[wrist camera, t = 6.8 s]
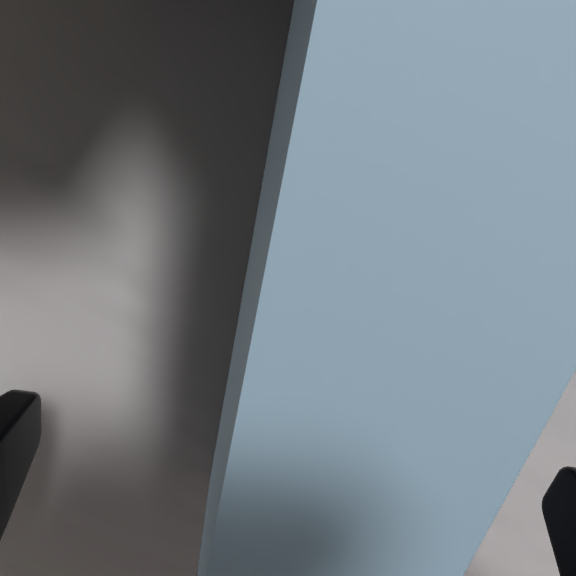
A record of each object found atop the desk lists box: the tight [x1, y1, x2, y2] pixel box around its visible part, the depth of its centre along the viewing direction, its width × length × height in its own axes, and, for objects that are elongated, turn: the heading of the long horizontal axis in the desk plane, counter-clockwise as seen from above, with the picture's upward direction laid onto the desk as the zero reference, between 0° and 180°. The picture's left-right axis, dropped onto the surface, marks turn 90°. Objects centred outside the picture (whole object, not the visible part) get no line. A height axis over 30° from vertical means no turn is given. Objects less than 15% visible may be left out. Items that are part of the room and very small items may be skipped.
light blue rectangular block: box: [197, 0, 576, 576], centre depth 8 cm, size 13×3×5 cm, turn 169°
